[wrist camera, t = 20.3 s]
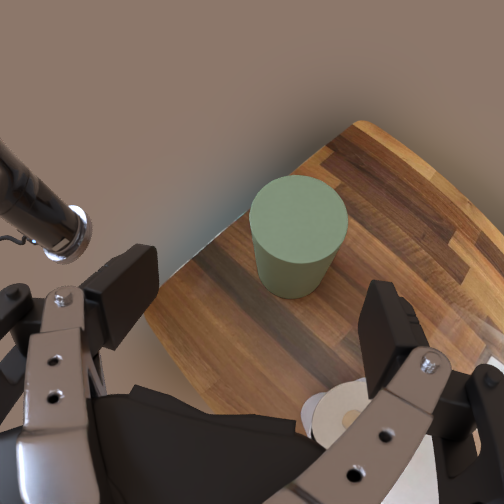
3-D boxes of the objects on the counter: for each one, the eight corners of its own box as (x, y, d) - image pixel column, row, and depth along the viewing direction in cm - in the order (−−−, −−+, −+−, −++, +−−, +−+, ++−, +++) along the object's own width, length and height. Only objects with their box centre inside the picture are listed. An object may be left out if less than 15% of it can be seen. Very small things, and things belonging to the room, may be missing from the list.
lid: (314, 462, 24) (327, 491, 17) (307, 388, 28) (319, 397, 20) (391, 444, 24) (423, 464, 17) (385, 373, 27) (419, 374, 20)
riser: (261, 302, 43) (255, 269, 28) (254, 239, 47) (245, 180, 32) (329, 294, 43) (357, 256, 28) (317, 231, 46) (335, 171, 32)
